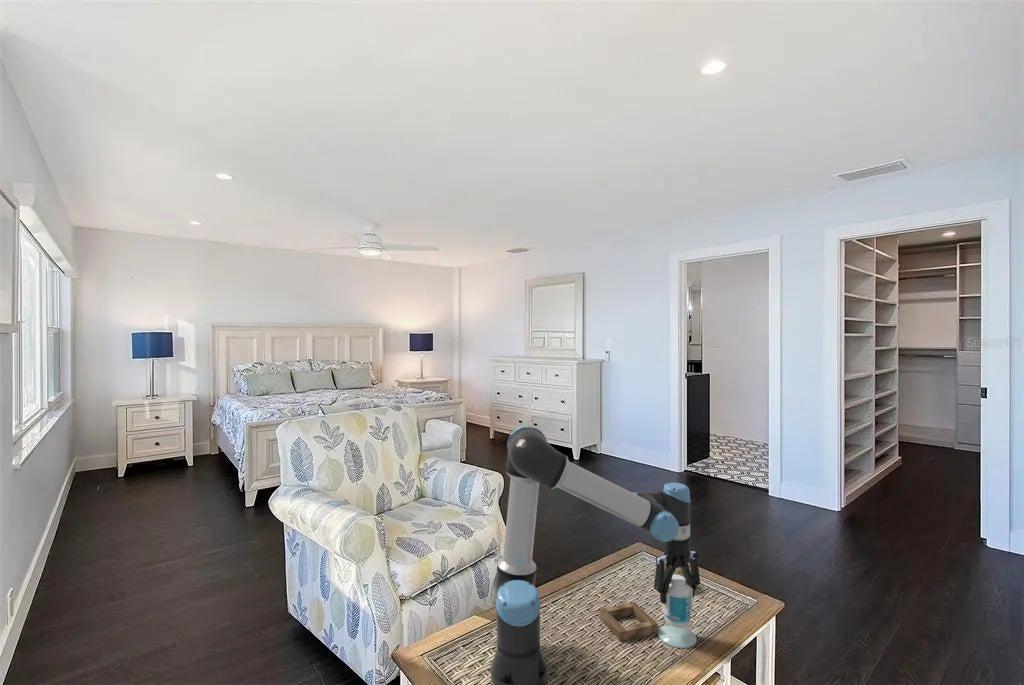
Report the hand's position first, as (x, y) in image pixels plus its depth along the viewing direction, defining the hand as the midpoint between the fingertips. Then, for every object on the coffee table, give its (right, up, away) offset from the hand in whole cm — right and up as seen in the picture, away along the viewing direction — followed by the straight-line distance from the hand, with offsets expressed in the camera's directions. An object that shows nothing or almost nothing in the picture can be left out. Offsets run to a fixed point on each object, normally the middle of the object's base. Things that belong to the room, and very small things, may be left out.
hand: (677, 610), depth 152 cm
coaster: (0, -8, 0) cm, 8 cm away
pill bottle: (0, -4, 0) cm, 4 cm away
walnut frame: (-14, -8, +6) cm, 17 cm away
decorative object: (+8, -7, +30) cm, 32 cm away
